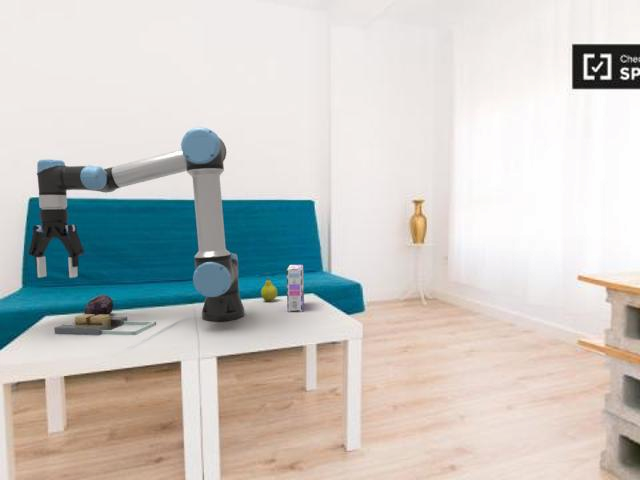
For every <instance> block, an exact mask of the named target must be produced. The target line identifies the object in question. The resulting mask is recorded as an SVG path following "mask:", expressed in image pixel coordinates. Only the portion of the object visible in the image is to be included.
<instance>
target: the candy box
mask: <svg viewBox="0 0 640 480" xmlns="http://www.w3.org/2000/svg"><path fill="white" fill-rule="evenodd" d="M304 285H305V283H304V265H303V264H289V266H288V267H287V269H286V296H287V297H286V299H287V302H286V303H287V304H286V305H287V312H288V313H289V312H291V313H292V312H293V313H294V312H297V313H298V312H299V313H300V312H303V309H304V306H305V291H304V290H305V286H304Z"/></svg>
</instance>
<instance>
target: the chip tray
mask: <svg viewBox="0 0 640 480" xmlns="http://www.w3.org/2000/svg"><path fill="white" fill-rule="evenodd" d="M124 325H125V326H126V325H127V326H141V327H139V328H137V329H135V330H119V329H118V330H115V329H112V330H102V334H101V335H112V336H113V335H119V336H120V335H121V336H136V335H138V334H140V333H143V332H144V331H146V330H148V329H150V328H152V327H154V326H156V325H157V321H150V320H148V321H146V320H145V321H142V320H141V321H140V320H139V321H137V320H127V321H124ZM124 325H123V326H124Z"/></svg>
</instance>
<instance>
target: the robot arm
mask: <svg viewBox="0 0 640 480" xmlns="http://www.w3.org/2000/svg"><path fill="white" fill-rule="evenodd" d="M180 146H181V148H180V149H178V150H174V151H170V152H166V153H162V154H158V155H155V156H151V157H147V158H142V159H140V160H139V159H138V160H134V161H130V162H127V163H122V164H119V165H115V166H111V167H107V168H103V167H102V166H99V165H78V166H77V165H76V166H72V165H71V166H67V165H66V164H65V163H66V162H64V161H63V160H61V159H50V158H49V159H48V158H47V159H40V160H38V161H37V165H36V170H37V171H36V176H37V184H38V204H39V208H41V209H40V211H39V218H40V221H41V223H42V224H41V225H37V224H36V225H33V226H32V232H33V234H32V237H31V241H30V246H29V250H28V255H29V256H33V257H34V261H35V262H34V263H35V264H34V265H35V267H36V270H37V278H44V277H47V262H46V261H47V260H46V256H45V252H46V250H47V248H48V245H49V244H50V242H51V240H54V239H58V240H59V241H61V244H62V245H63V246H64V248H65V249H66V251H67V252H68V254H69V257H68V259H67V260H68V261H67V262H68V272H69V273H68V276H69V278H70V279H71V278H76V277H77V278H78V274H79V273H78V267H79V266H80V263H79V261H80V260H79V257H80V256H81V255H84V254H85V251H84V248H83V245H82V243H81V239H80V237H79V234H78V228H77V225H76V224H68V223H67V221H68V220H69V213H68V210H67V209H66V208H67V207H68V197H67V194H68V193H67V191H71V190H72V191H73V190H75V191H92V192H93V191H94V192H102V193H106V194H107V193H112V192H115V191H117V190H118V189H121V188H124V187H127V186H133V185H136V184H140V183H144V182H149V181H151V180H152V181H153V180H155V179H156V180H157V179H160V178H165V177H169V176H173V175H176V174H180V173H184V172H187V174H188V175H190V176H191V178H192V186H193V187H192V188H193V200H194V209H195V210H194V211H195V220H196V221H195V222H196V231H197V232H196V234H197V244H198V252H197V253H196V254H195V255H194V267H195V270H194V271H193V276H192V282H193V285H194V288H195V289H196V291H197V292H198V293H199V294H200V295H202V296H204V297H205V299H204V304H203V306H202V310H201V319H202V320H205V321H209V322H224V321H232V320H237V319H240V318H243V317H244V316H245V308H244V307H245V306H244V305H243V302H242V299H241V296H240V292H239V291H240V288H239V287H240V286H239V260H238V254H236V253H233V252H230V251H229V250H227V248H226V236H225V235H226V234H225V225H224V212H223V203H222V202H223V201H222V200H223V199H222V190H221V189H222V188H221V175H222V174H223V172H225V170H224V169H225V168H224V162H225V159H226V157H227V147H226V145H225V142H224V141H223V140H222V138H220V137H219V136H218V134H217V133H216V132H215V131H213V130H211V129H210V128H207V127H202V126H197V127H194V128H191V129H189V130H188V131H187V132H186V133H185V134H184V135H183V137H182V140H181V143H180Z"/></svg>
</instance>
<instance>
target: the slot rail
mask: <svg viewBox="0 0 640 480" xmlns="http://www.w3.org/2000/svg"><path fill="white" fill-rule="evenodd" d="M110 320H111V327H109V328H107V329H106V326H105V325H75V324H61V325H58V326H55V327H54V335H71V336H73V335H76V336H101V335H103V334H102V330H115V329H117V328H119V327H121V326H124V321H128V317H127V316H110Z"/></svg>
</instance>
